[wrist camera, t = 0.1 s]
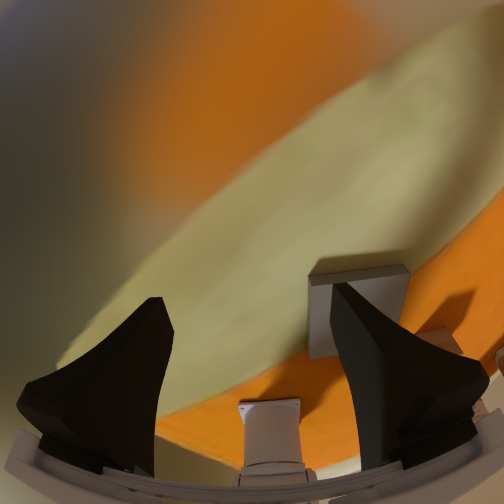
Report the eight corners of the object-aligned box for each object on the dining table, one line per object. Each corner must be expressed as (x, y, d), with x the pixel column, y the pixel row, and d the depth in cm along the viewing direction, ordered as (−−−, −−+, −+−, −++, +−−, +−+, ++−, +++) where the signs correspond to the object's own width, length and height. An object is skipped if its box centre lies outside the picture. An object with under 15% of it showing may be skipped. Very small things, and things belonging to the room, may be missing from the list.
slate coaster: (386, 335, 26) (391, 345, 25) (306, 348, 27) (308, 359, 25) (403, 264, 22) (410, 273, 21) (308, 276, 22) (311, 286, 21)
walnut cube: (433, 352, 29) (448, 379, 24) (403, 361, 29) (416, 391, 24) (445, 325, 26) (463, 353, 22) (413, 334, 27) (430, 365, 22)
